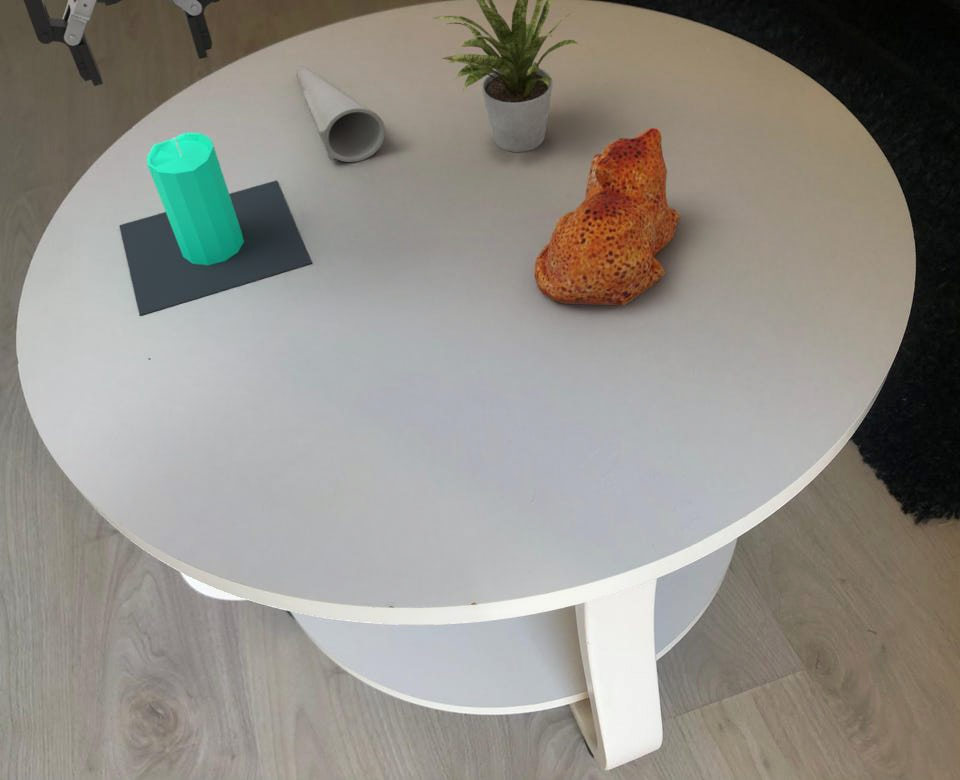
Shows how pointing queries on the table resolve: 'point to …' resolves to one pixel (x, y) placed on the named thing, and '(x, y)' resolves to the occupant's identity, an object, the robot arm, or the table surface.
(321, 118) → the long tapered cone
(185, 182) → the candle
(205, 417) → the table surface
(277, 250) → the mat
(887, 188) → the table surface
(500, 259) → the table surface
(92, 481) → the table surface
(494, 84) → the house plant
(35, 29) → the robot arm
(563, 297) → the figurine
